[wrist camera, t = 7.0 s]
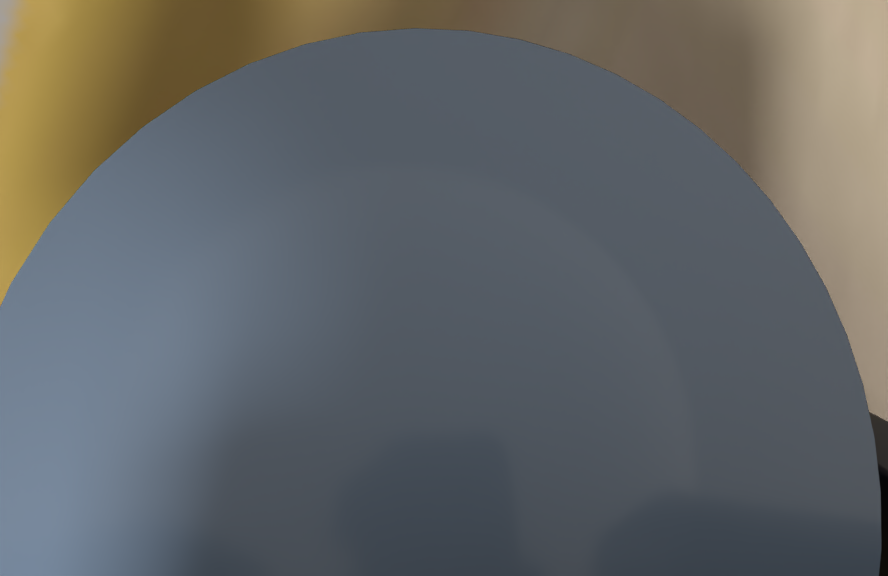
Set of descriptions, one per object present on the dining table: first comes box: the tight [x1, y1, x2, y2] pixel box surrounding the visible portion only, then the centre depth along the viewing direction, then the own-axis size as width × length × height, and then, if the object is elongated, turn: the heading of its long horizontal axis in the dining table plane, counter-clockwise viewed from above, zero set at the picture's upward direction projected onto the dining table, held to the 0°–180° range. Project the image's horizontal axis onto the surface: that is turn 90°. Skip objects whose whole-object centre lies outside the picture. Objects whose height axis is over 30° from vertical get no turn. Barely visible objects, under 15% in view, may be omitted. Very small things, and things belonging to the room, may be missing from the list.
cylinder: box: [0, 28, 881, 576], centre depth 10 cm, size 5×5×13 cm
